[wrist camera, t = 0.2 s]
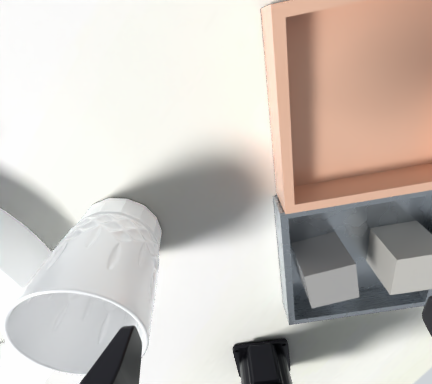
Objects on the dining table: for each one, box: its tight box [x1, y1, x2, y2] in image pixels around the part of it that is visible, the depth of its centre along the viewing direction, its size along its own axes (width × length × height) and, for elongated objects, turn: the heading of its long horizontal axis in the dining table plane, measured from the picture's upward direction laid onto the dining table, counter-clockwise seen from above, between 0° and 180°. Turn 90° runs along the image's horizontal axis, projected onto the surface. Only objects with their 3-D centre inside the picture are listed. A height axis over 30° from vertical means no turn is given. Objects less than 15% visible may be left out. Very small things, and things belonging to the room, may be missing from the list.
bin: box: [273, 190, 432, 325], centre depth 25 cm, size 14×14×2 cm
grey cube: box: [291, 232, 359, 308], centre depth 24 cm, size 4×4×4 cm
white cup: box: [2, 198, 162, 376], centre depth 20 cm, size 8×8×10 cm
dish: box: [261, 0, 432, 214], centre depth 18 cm, size 13×13×3 cm
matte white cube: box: [366, 221, 432, 295], centre depth 24 cm, size 4×4×4 cm
